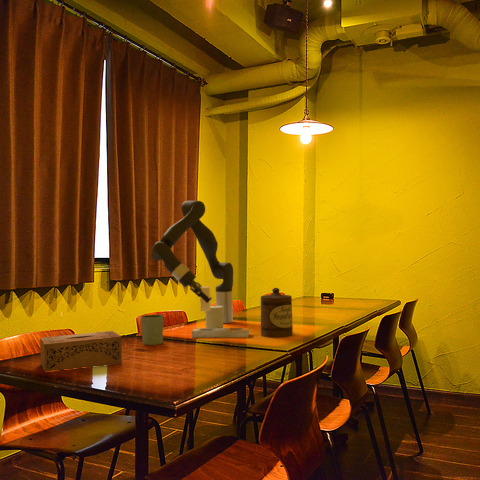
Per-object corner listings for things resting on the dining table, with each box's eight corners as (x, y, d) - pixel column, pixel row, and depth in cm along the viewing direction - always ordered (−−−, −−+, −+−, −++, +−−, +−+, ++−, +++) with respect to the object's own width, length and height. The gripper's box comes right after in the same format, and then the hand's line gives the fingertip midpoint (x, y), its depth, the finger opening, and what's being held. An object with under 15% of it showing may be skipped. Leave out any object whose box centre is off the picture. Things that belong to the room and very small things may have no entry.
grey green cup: (158, 345, 204) (158, 317, 204) (136, 345, 206) (136, 317, 206) (167, 341, 214) (166, 314, 214) (145, 340, 216) (145, 314, 216)
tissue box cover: (112, 356, 185) (112, 330, 185) (121, 364, 172) (121, 336, 172) (40, 365, 173) (40, 337, 173) (44, 374, 160) (44, 344, 160)
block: (202, 309, 227) (201, 286, 227) (210, 309, 227) (210, 286, 227) (200, 311, 223) (200, 287, 223) (209, 311, 223) (208, 287, 223)
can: (224, 327, 247) (224, 304, 248) (222, 330, 238) (221, 306, 239) (207, 328, 248) (206, 304, 249) (203, 331, 239) (203, 306, 239)
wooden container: (276, 339, 214) (275, 289, 214) (254, 334, 225) (253, 288, 226) (299, 334, 223) (298, 287, 224) (277, 331, 235) (276, 286, 235)
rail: (195, 334, 229) (195, 327, 229) (249, 334, 227) (249, 327, 227) (191, 337, 221) (191, 330, 221) (247, 337, 219) (247, 330, 219)
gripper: (186, 270, 219) (212, 296, 218) (192, 268, 233) (217, 293, 232) (174, 282, 219) (201, 308, 218) (181, 280, 233) (206, 304, 232)
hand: (209, 300), depth 225 cm, fingers closed on block, 4 cm apart
